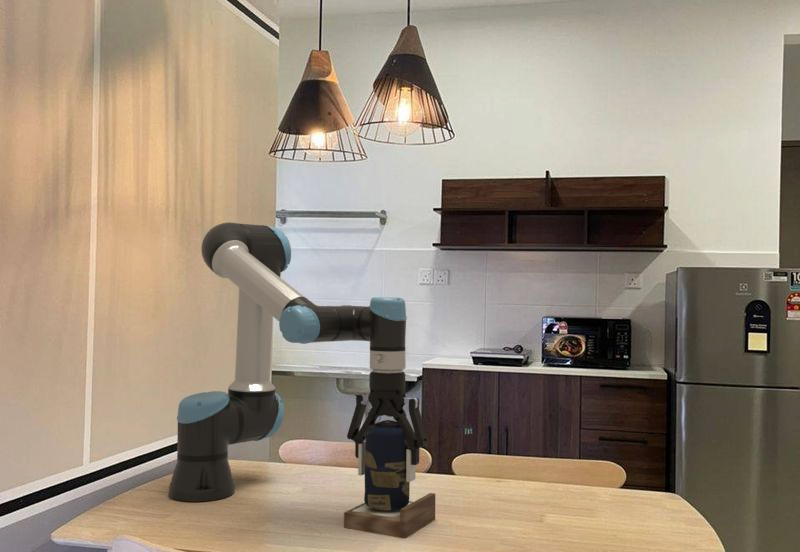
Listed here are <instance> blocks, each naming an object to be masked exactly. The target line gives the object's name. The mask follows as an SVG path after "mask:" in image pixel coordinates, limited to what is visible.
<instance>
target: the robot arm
mask: <svg viewBox="0 0 800 552" xmlns="http://www.w3.org/2000/svg"><path fill="white" fill-rule="evenodd" d="M290 243H291V242H290V240H289V238H288V236H286V234H285V233H284V232H283V231H282V229H279V228H277V227H274V226H270V225H265V224H261V225H260V224H249V223H237V222H230V221H228V222H223V223H220V224H219V223H218V224H216V225H215V226H214V227H212V228H210V229H209V230H208V231H207V232H206V233H205V235H204V236H203V239H202V241H201V248H200V249H201V256H202V259H203V261H204V263H205V265H206V266H207V267H208V268H209V269H210V270H211V272H213V273H214V274H215V275H216V276H218V277H219V278H222V279H228V280H229V281H230V282H231V283H232V284H234V285H235V286H236V287H237V288H238V301H237V302H238V304H237V305H238V307H237V325H236V326H237V328H236V350H235V351H236V352H235V373H234V381H233V382H232V383H231V384H229V385H228V389H227V392H226V391H222V390H219V391H217V390H216V391H215V390H213V391H208V392H206V391H204V392H199V393H195V394H191V395H188V396H186V397H183V399H181V401H180V402H179V403H178V406H177V407H178V408H177V409H178V410H177V417H176V420H177V446H176V447H177V449H176V450H177V456H176V464H175V466H174V467H175V468H174V470H173V473H172V477H171V481H170V483H169V485H168V496H169V498H171V499H172V500H176V501H182V502H192V503H195V502H210V501H215V500H220V499H226V498H228V497H230V496H232V495H233V494H235V492H236V484H235V483H236V482H235V479H234V478H233V474H232V470H231V466H230V463H229V458H228V457H229V454H228V453H229V451H228V449H229V445H230V446H231V445H235V444H241V443H247V442H253V441H254V442H258V441H261V440H263V439H268V438H271V437H273V436H274V435H275V434H276V433H277V432H279V430H280V428H281V427H282V424H283V421H284V416H285V407H284V406H285V405H284V403H283V401H282V397H280V395H279V394H278V393H277V392H276V386H275V385H274V384H273V383H272V382H271V380H270V378H271V377H270V376H271V358H272V356H271V355H272V336H273V335H272V334H273V318H274V319H275V320H277V321H278V326H279V332H281V334H282V338H283V339H285V340H286V341H287V342H289V343H292V344H302V345H304V344H310V343H311V344H312V343H313V344H314V343H324V342H345V341H346V342H348V341H349V342H350V341H352V342H353V341H355V342H356V341H357V342H358V341H361V342H369V369H370V370H372V371H370V372H369V379H368V381H369V394H367V393H361V394H360V393H359V394H357V395H356V396H355V409H354V412H353V415H352V419H351V422H350V424H349V428H348V431H347V434H346V438H347V439H348V440H351V441H353V442H354V444H355V446H354V447H355V449H354V451H355V452H354V453H355V455H354V456H355V458H356V459H358V461H357V462H358V463H357V464H358V465H357V466H358V467H357V469H358V470H357V471H358V473H357V476H365V443H366V428H367V426H368V425H370V424H373V423H376V421H377V420H378V418H379V417H380V416H381V417H383V416H386V417H391V418H392V417H393V421H396V422H397V423H398V425H399V427H400V428H402V429H403V430H404V432H405V438H406V440H407V442H408V444H409V446H410V448H409V449H407V456H406V482H413V481H415V480H416V466H417V465H419V463H420V449H421V448H423V447H425V446H427V445H428V444H429V440H428V436H427V433H426V428H425V426H424V421H423V418H422V415H421V411H420V398H418V397H413V398H412V397H407V396H406V394H405V393H406V392H405V391H406V373H405V371H404V370H405V369H406V366H407V365H406V361H407V360H406V333H407V332H406V331H407V330H406V329H407V328H406V327H407V320H408V319H407V318H408V317H407V309H406V302H405V301H406V300H405V299H404V298H402V297H387V296H386V297H380V296H378V297H375V296H374V297H372V298H371V299H370V302H369V306H368V305H367V306H365V305H362V306H361V305H349V304H348V305H346V304H345V305H316V304H315V303H314V302H312V301H311V300H309V298H307V297H306V296H304V295H303V294H302V293H300V292H299V291H298V290H296V289H295V288H294V287H293V286H292V285H290V284H289V283H288V282H287V281H285V280H284V278H283V279H282V278H281V274H282V272H284V271H285V270H287V268H288V267H289V266H288V265H290V263H291V260H292V247H291V244H290ZM369 403H370V406H371V409H370V410H369V411H368V413H367V417H366V419H365V420H364V422H363V419H364V415H365V413H366V410H367V405H368V404H369ZM405 405H406V407H407V409H408V412H409V413H408V414H409V417H410V421H411V423H410V421H409V418H408V417H407V413H406V411H405V409H404V406H405ZM362 422H363V424H362ZM411 424H412V425H411ZM361 425H362V426H361Z"/></svg>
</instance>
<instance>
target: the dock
mask: <svg viewBox="0 0 800 552" xmlns="http://www.w3.org/2000/svg"><path fill="white" fill-rule="evenodd" d="M435 520H436V493H435V492H434V493H433V492H429V493H427V494H426V495H424V496H422V497H420V498H417V499H416V500H415V501H410V500H409V503H408V505H407V506H405V507H404V508H402V509H398V510H390V511H386V510H377V509H373V508H371V507H369V506H367V505H366V504H365V502H362V503H361V504H358V505H357V506H355V507H352V508H351V509H348V510H347V511H345V512H343V528H344V529H351V530H354V531H355V530H356V531H361V532H368V533H373V534H380V535H385V536H390V537H397V538H402V539H407V538H408V537H410V536H412V535H413V534H415V533H416V532H418V531H419V530H420V529H422V528H424V527H426V526H427V525H429V524H430V523H432V522H433V521H435Z"/></svg>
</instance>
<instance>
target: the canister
mask: <svg viewBox="0 0 800 552" xmlns="http://www.w3.org/2000/svg"><path fill="white" fill-rule="evenodd" d="M365 439H366V440H365V442H366V443H365V474H364V497H363V501H364V503H365V504H366V505H367V506H369V507H371V508H373V509H377V510H386V511H390V510H398V509H402V508H404V507H405V506H407V505H408V503H409V501H410V492H411V491H410V488H411V487H410V485H411V484H410V482H406V456H407V449H409V448H410V446H409V444H408V442H407V440H406V438H405V432H404V430H403V429H402V428H400V427H399V425H398V423H397V421H396V420H391V419H385V420H382V421H381V420H380V421H378V422H375V423H373V424H370V425H368V426H367V428H366V438H365Z"/></svg>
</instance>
